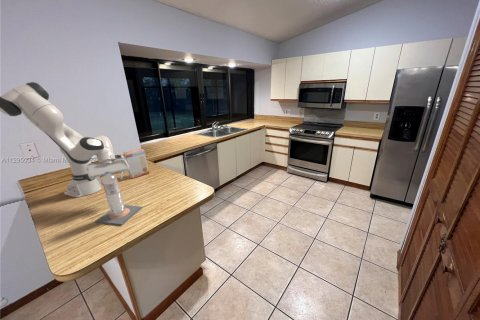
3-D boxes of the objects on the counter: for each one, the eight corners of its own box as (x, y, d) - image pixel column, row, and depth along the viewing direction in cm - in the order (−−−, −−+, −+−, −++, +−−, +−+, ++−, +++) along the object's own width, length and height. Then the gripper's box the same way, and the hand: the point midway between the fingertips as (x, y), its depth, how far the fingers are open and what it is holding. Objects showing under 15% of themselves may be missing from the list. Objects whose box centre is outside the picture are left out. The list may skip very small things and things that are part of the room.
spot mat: (95, 222, 103) (94, 220, 103) (118, 205, 118) (118, 204, 118) (121, 225, 100) (121, 223, 100) (142, 208, 115) (141, 206, 115)
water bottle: (114, 210, 111) (102, 170, 103) (127, 209, 112) (116, 168, 104) (109, 218, 105) (96, 175, 96) (123, 215, 106) (112, 173, 98)
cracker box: (146, 171, 168) (142, 148, 161) (149, 173, 164) (144, 149, 157) (129, 177, 159) (123, 152, 152) (131, 179, 155) (125, 153, 148)
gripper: (84, 161, 108) (88, 184, 104) (125, 154, 119) (131, 174, 115) (86, 166, 113) (90, 188, 109) (126, 159, 124) (131, 178, 120)
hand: (112, 181), depth 112 cm, fingers open, 8 cm apart
